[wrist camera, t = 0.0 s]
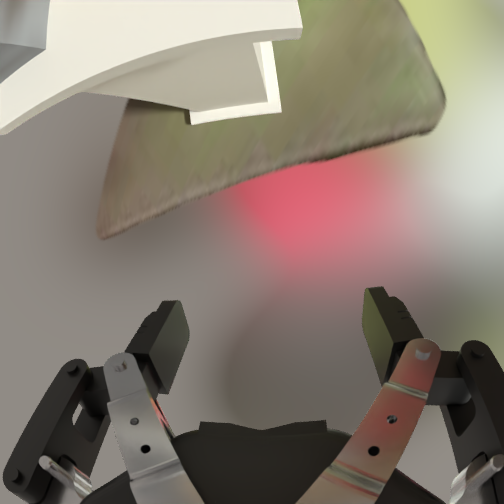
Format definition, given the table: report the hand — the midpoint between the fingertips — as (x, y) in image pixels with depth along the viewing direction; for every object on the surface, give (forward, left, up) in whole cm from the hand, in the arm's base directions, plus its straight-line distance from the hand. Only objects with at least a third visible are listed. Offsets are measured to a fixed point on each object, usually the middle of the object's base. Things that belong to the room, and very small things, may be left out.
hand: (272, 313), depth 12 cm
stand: (-16, -4, -29) cm, 34 cm away
